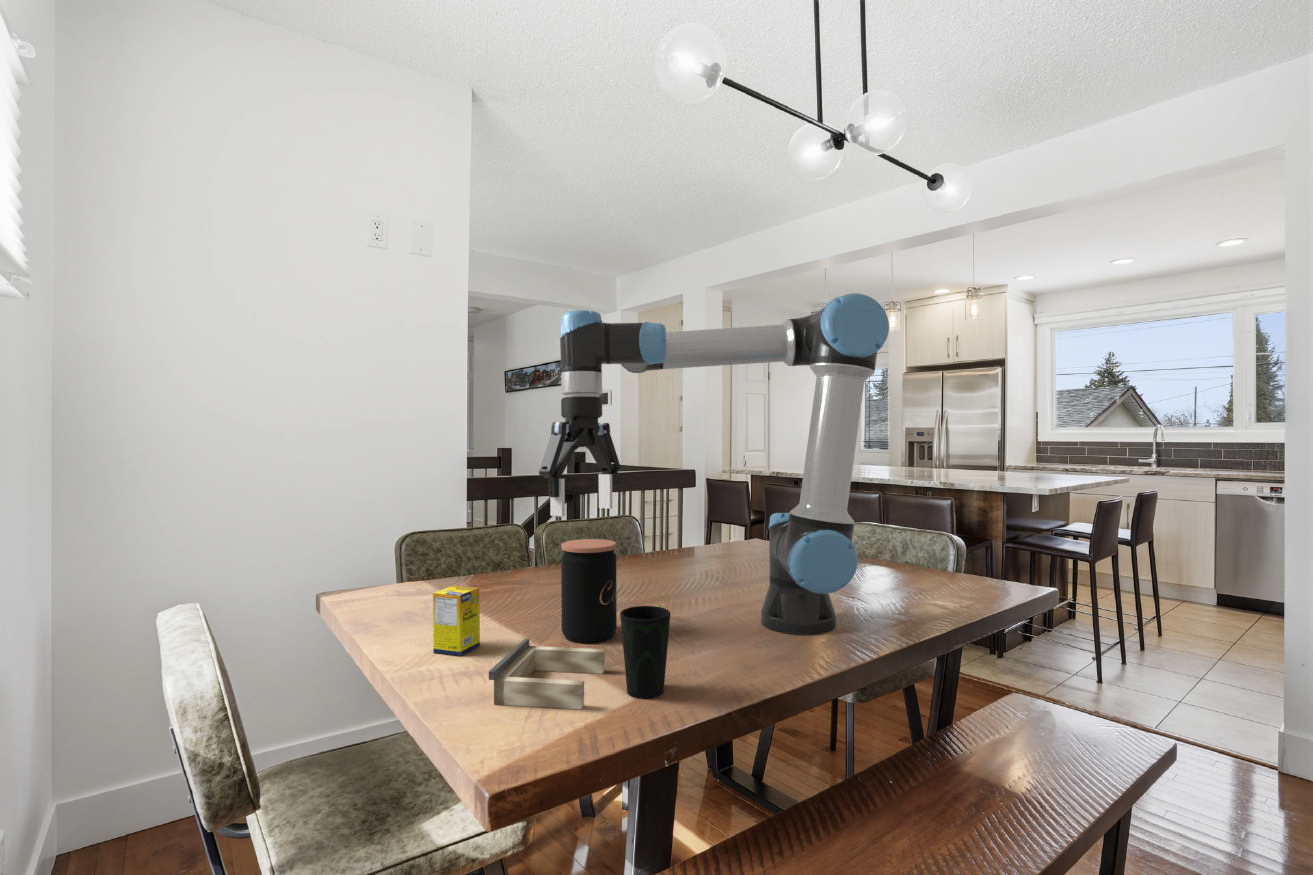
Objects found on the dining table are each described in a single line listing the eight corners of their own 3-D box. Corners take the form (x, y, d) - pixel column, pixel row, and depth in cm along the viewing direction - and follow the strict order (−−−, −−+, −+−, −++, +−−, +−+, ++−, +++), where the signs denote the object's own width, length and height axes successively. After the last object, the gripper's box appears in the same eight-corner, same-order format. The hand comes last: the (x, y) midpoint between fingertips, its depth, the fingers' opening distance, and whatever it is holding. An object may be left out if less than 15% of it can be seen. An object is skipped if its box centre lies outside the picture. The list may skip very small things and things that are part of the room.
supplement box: (480, 646, 116) (480, 587, 116) (460, 656, 110) (460, 594, 110) (453, 642, 117) (453, 584, 117) (432, 653, 112) (432, 592, 112)
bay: (604, 670, 103) (604, 641, 103) (581, 709, 88) (581, 676, 88) (524, 666, 105) (524, 638, 105) (488, 703, 90) (488, 671, 90)
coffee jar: (608, 646, 115) (607, 548, 115) (553, 642, 117) (553, 547, 117) (622, 628, 126) (622, 539, 126) (572, 625, 128) (572, 538, 128)
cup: (619, 682, 98) (619, 606, 98) (667, 680, 99) (667, 604, 99) (620, 702, 91) (620, 620, 91) (673, 700, 91) (673, 619, 91)
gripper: (607, 400, 127) (608, 504, 127) (517, 393, 106) (518, 518, 106) (637, 398, 123) (638, 506, 123) (549, 391, 102) (551, 521, 102)
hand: (582, 512), depth 115 cm, fingers open, 13 cm apart
